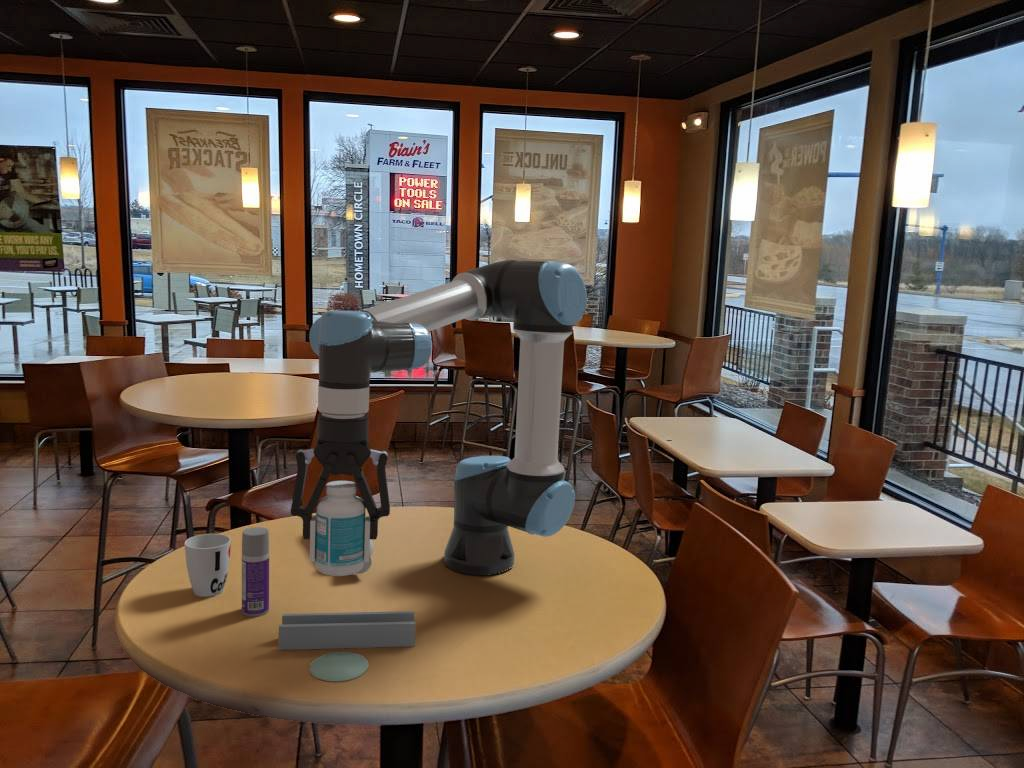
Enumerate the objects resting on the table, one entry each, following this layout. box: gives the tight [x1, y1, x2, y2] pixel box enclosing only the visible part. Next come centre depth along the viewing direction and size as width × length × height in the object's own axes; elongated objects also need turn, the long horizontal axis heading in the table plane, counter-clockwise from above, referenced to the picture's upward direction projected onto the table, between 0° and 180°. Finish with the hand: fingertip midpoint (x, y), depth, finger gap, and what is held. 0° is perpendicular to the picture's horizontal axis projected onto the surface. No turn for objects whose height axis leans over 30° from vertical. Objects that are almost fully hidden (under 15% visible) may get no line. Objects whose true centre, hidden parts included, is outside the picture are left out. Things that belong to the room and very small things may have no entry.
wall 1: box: [278, 621, 416, 651], centre depth 130 cm, size 22×1×4 cm, turn 99°
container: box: [241, 526, 270, 618], centre depth 141 cm, size 5×5×15 cm
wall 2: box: [281, 610, 416, 625], centre depth 134 cm, size 22×1×4 cm, turn 99°
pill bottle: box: [315, 480, 366, 577], centre depth 122 cm, size 8×7×14 cm
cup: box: [184, 533, 232, 598], centre depth 149 cm, size 8×8×10 cm
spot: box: [309, 651, 369, 683], centre depth 124 cm, size 9×9×1 cm
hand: (340, 558), depth 122 cm, fingers closed on pill bottle, 7 cm apart
